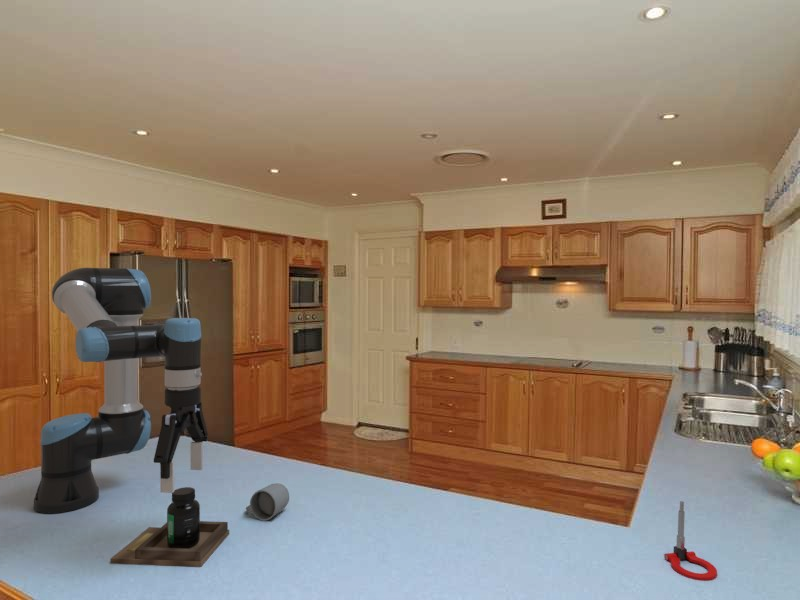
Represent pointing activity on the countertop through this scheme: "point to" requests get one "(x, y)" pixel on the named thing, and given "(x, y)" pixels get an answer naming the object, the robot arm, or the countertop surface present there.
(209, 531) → the framed wooden board
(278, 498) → the ceramic mug
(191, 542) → the supplement bottle
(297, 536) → the countertop surface
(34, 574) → the countertop surface
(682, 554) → the tow hook
